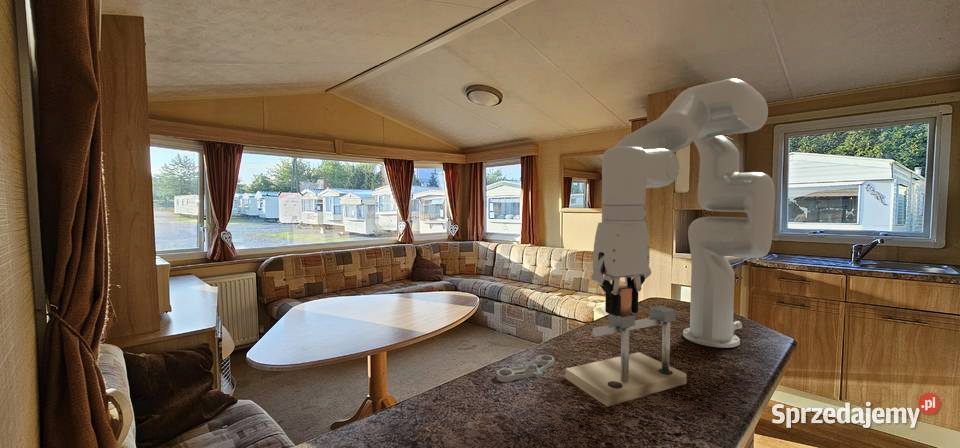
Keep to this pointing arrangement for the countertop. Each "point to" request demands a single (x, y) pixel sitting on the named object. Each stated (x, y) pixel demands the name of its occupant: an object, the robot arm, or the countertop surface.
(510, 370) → the bracket
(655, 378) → the board
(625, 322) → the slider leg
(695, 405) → the countertop surface
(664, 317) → the frame
